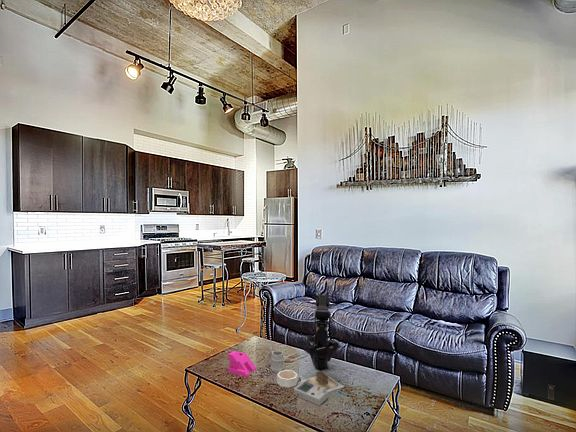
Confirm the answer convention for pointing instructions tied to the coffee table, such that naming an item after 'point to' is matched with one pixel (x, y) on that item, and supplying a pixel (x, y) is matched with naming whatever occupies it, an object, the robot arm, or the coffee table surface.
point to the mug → (275, 360)
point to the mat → (330, 388)
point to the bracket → (240, 364)
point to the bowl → (287, 378)
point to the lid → (322, 381)
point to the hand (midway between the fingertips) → (321, 363)
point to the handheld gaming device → (311, 393)
